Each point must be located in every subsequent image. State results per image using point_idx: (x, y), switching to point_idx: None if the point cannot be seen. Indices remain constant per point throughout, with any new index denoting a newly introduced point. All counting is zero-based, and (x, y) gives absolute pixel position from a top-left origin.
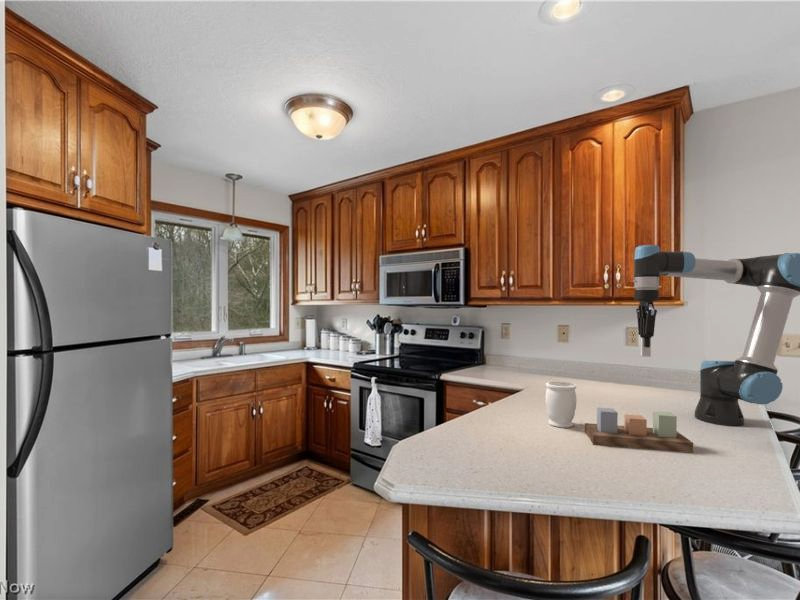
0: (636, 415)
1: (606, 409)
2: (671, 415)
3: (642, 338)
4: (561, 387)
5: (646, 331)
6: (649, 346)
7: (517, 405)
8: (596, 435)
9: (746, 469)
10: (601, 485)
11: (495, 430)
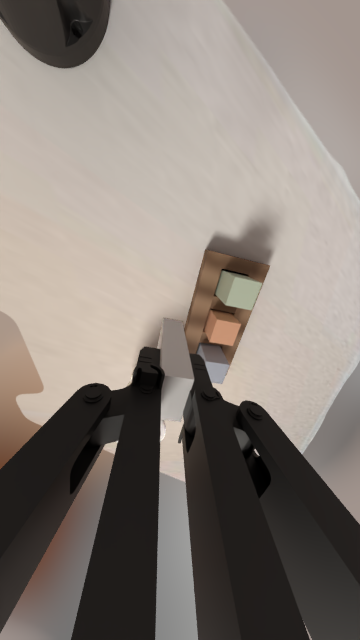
0: (217, 327)
1: (211, 372)
2: (256, 289)
3: (180, 417)
4: (163, 435)
5: (266, 482)
6: (201, 359)
7: (51, 407)
8: (226, 373)
9: (324, 232)
10: (310, 395)
11: (174, 440)
